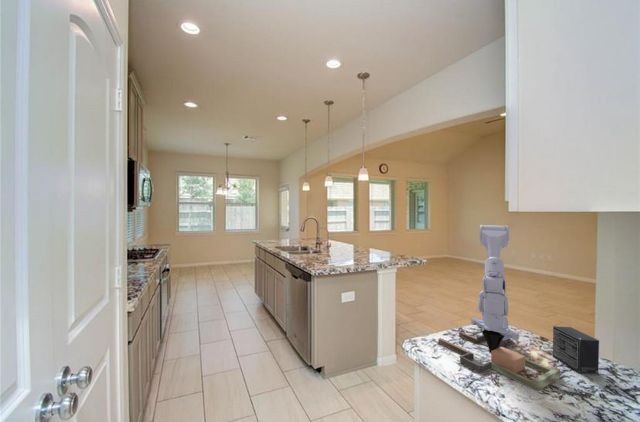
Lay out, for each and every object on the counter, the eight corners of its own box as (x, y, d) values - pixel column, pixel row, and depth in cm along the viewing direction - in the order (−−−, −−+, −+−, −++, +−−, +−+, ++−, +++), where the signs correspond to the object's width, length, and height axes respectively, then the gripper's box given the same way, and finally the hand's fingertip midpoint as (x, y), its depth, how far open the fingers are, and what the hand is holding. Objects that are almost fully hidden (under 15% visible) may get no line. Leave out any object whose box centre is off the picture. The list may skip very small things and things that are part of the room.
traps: (485, 339, 110) (485, 333, 110) (523, 354, 98) (523, 348, 98) (443, 354, 98) (443, 348, 98) (480, 373, 86) (480, 366, 86)
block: (501, 358, 95) (501, 346, 95) (524, 368, 89) (524, 356, 89) (491, 362, 93) (491, 350, 93) (514, 373, 86) (514, 360, 86)
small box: (600, 374, 87) (601, 340, 87) (579, 373, 87) (579, 339, 87) (570, 356, 97) (571, 326, 97) (551, 356, 98) (552, 325, 97)
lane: (461, 335, 113) (461, 329, 113) (560, 377, 85) (560, 369, 85) (438, 342, 106) (438, 336, 106) (537, 391, 78) (537, 382, 78)
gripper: (466, 307, 100) (465, 346, 100) (510, 322, 87) (509, 366, 87) (478, 304, 103) (477, 342, 103) (522, 318, 90) (522, 360, 90)
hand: (493, 352), depth 95 cm, fingers closed
